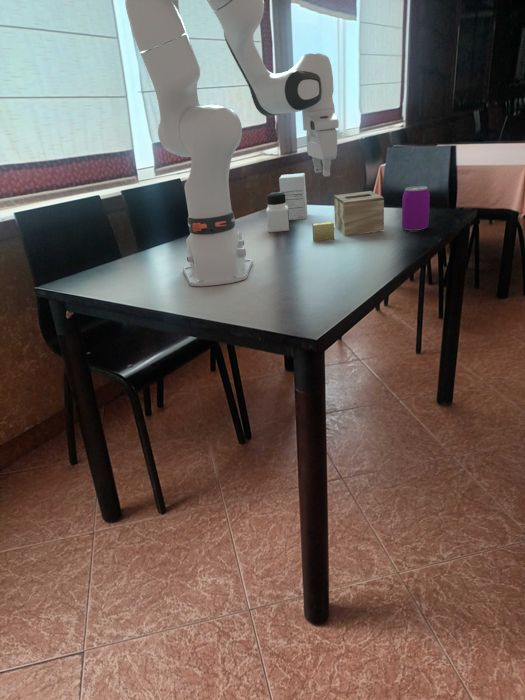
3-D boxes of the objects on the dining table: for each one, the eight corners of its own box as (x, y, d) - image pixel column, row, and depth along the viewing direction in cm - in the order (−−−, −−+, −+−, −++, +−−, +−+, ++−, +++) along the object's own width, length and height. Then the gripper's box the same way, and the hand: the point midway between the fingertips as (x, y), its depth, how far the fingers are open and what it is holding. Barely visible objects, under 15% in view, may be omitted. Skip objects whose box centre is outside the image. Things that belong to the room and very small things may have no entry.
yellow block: (334, 240, 147) (333, 223, 145) (314, 242, 147) (313, 225, 145) (332, 238, 149) (332, 221, 147) (313, 240, 149) (312, 224, 147)
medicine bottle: (289, 230, 164) (286, 193, 159) (268, 232, 164) (264, 195, 159) (289, 226, 170) (286, 190, 165) (268, 228, 171) (265, 192, 166)
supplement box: (284, 215, 188) (280, 174, 181) (307, 214, 186) (305, 172, 180) (281, 220, 180) (278, 178, 173) (306, 219, 178) (303, 175, 172)
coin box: (383, 231, 150) (383, 197, 146) (345, 235, 150) (344, 202, 146) (370, 222, 163) (370, 190, 159) (335, 226, 163) (333, 195, 158)
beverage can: (426, 225, 152) (428, 184, 146) (429, 231, 145) (431, 188, 140) (400, 226, 153) (401, 186, 148) (402, 232, 146) (403, 191, 141)
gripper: (299, 122, 145) (303, 172, 151) (316, 123, 126) (320, 180, 132) (320, 119, 145) (323, 169, 151) (340, 120, 127) (343, 176, 133)
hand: (322, 174), depth 142 cm, fingers open, 8 cm apart
